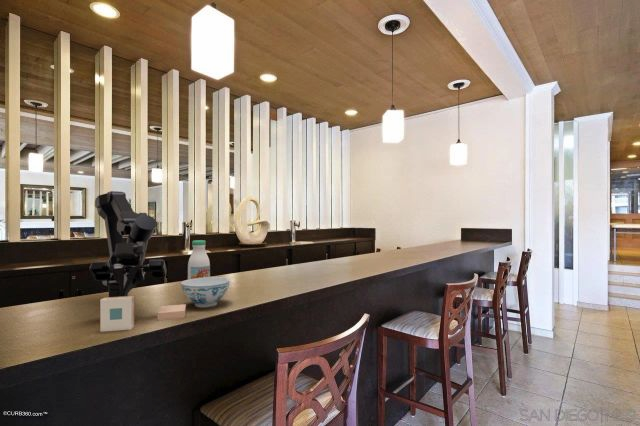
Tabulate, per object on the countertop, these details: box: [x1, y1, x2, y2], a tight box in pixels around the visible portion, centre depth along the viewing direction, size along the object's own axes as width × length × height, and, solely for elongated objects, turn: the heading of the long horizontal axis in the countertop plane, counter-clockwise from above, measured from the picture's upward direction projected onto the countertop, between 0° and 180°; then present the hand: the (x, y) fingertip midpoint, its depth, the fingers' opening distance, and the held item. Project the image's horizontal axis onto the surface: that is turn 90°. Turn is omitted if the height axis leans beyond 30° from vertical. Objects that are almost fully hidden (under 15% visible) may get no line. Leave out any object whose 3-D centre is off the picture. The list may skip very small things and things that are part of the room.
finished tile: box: [157, 304, 187, 321], centre depth 100 cm, size 8×7×2 cm
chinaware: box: [180, 276, 231, 308], centre depth 111 cm, size 15×15×8 cm
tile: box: [99, 295, 135, 333], centre depth 88 cm, size 2×7×8 cm, turn 103°
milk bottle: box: [187, 239, 211, 280], centre depth 126 cm, size 8×8×20 cm
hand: (122, 295), depth 91 cm, fingers closed
